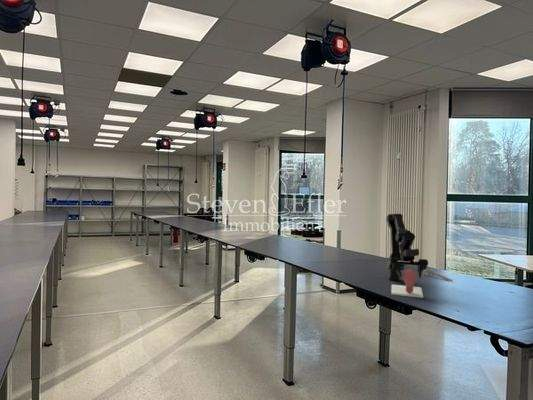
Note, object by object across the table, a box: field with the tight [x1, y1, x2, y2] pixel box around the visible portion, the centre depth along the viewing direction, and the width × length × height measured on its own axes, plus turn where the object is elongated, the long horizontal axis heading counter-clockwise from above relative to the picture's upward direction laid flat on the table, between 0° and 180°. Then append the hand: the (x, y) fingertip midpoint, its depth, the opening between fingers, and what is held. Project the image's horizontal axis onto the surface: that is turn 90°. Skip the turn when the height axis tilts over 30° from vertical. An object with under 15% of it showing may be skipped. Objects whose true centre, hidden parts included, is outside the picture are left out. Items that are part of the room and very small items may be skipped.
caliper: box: [422, 266, 454, 283], centre depth 238 cm, size 20×1×6 cm, turn 30°
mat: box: [390, 284, 424, 299], centre depth 203 cm, size 19×15×1 cm
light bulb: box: [401, 268, 418, 293], centre depth 198 cm, size 7×7×12 cm
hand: (410, 277), depth 196 cm, fingers open, 9 cm apart
